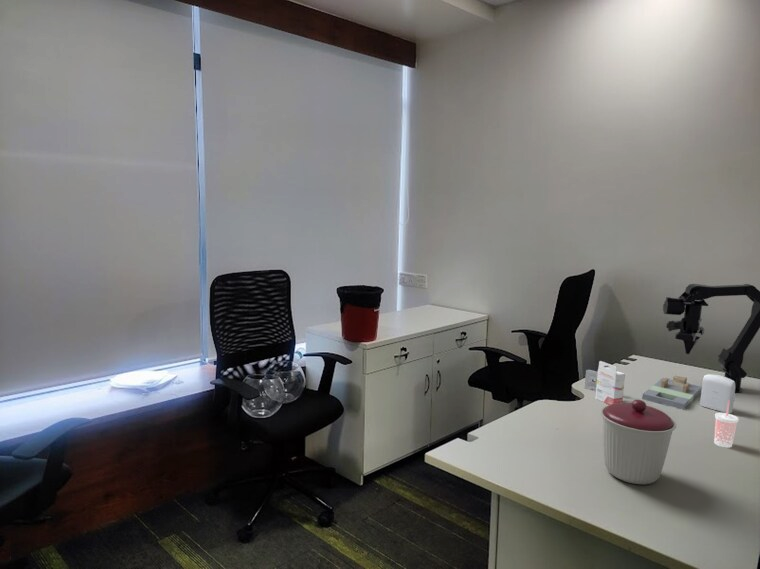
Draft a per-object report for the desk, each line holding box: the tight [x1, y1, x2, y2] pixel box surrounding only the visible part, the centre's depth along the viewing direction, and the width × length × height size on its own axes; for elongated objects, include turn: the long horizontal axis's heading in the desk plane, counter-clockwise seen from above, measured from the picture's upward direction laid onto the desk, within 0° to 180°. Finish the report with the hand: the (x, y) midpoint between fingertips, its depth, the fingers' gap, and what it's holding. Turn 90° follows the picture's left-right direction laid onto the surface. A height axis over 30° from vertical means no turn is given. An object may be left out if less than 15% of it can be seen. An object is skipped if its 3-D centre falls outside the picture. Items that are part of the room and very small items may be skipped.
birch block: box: [672, 374, 688, 387], centre depth 210 cm, size 4×4×3 cm
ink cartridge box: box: [594, 360, 626, 405], centre depth 195 cm, size 9×5×15 cm, turn 25°
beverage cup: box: [713, 401, 740, 449], centre depth 163 cm, size 6×6×14 cm
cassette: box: [584, 369, 598, 392], centre depth 206 cm, size 12×2×8 cm, turn 51°
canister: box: [600, 399, 677, 485], centre depth 142 cm, size 18×18×21 cm
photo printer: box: [699, 374, 736, 414], centre depth 191 cm, size 10×4×12 cm, turn 39°
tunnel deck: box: [641, 377, 702, 411], centre depth 204 cm, size 26×14×4 cm, turn 137°
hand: (687, 353), depth 214 cm, fingers closed
